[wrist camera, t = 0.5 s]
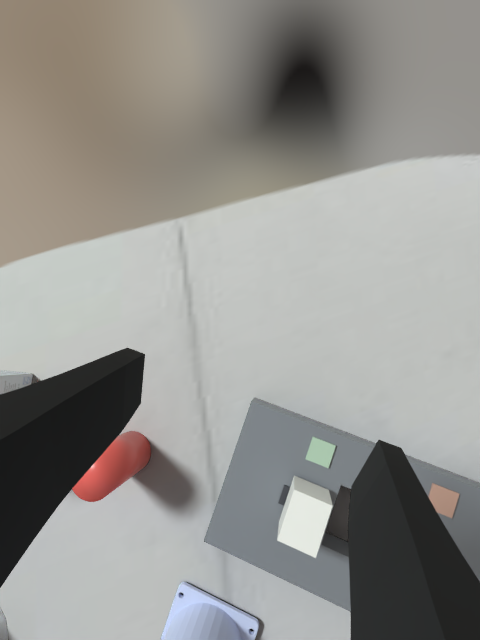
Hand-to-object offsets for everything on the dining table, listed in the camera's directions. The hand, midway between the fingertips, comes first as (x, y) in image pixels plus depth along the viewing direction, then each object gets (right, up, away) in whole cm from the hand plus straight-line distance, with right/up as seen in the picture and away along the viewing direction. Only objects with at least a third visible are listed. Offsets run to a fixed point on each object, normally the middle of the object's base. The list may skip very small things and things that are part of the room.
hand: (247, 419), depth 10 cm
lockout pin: (-11, -10, +24) cm, 29 cm away
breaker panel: (+9, -14, +20) cm, 27 cm away
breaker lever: (+5, -13, +18) cm, 23 cm away
